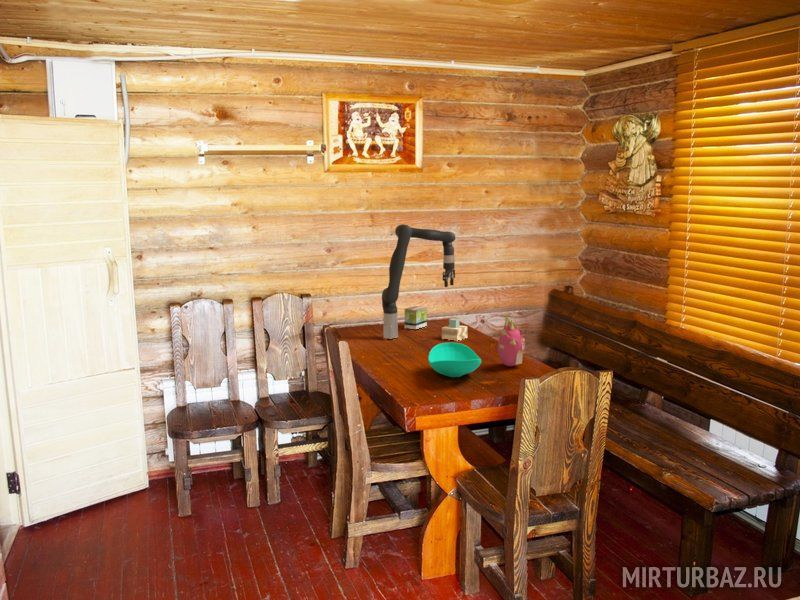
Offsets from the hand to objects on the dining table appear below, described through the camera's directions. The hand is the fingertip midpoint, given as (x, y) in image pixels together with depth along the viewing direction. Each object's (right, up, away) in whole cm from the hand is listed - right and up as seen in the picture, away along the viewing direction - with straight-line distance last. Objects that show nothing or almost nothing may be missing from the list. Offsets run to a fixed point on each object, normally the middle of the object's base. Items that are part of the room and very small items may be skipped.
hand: (449, 286), depth 464 cm
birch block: (+3, -35, -10) cm, 36 cm away
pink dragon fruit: (+29, -46, -79) cm, 96 cm away
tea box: (-22, -29, +23) cm, 43 cm away
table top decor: (-4, -50, -94) cm, 107 cm away
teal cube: (+3, -27, -12) cm, 29 cm away
